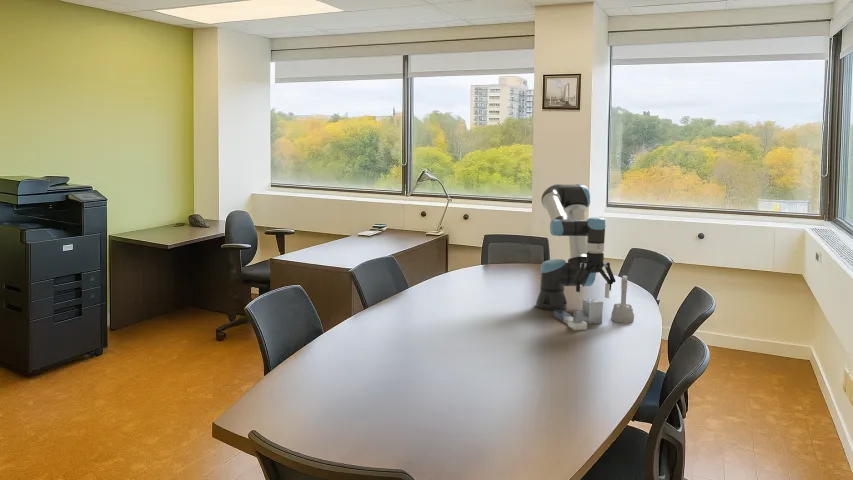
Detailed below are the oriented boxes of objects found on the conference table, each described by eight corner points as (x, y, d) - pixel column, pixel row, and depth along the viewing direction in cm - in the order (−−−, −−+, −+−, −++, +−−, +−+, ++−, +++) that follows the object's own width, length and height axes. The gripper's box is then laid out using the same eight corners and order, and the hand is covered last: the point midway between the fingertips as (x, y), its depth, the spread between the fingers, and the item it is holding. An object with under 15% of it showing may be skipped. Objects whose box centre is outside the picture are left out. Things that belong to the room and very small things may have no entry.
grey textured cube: (581, 320, 302) (582, 299, 301) (595, 319, 304) (596, 298, 302) (588, 324, 296) (589, 302, 294) (601, 323, 297) (603, 302, 296)
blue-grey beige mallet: (551, 315, 309) (552, 300, 308) (563, 315, 310) (564, 299, 309) (574, 330, 286) (574, 313, 285) (586, 329, 287) (587, 312, 286)
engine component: (612, 321, 300) (634, 323, 298) (614, 277, 297) (637, 279, 295) (610, 315, 311) (632, 317, 309) (612, 273, 307) (635, 274, 305)
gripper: (573, 254, 288) (571, 301, 291) (624, 252, 294) (622, 298, 297) (566, 251, 296) (564, 297, 298) (616, 250, 301) (613, 295, 304)
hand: (593, 298), depth 298 cm, fingers open, 13 cm apart
